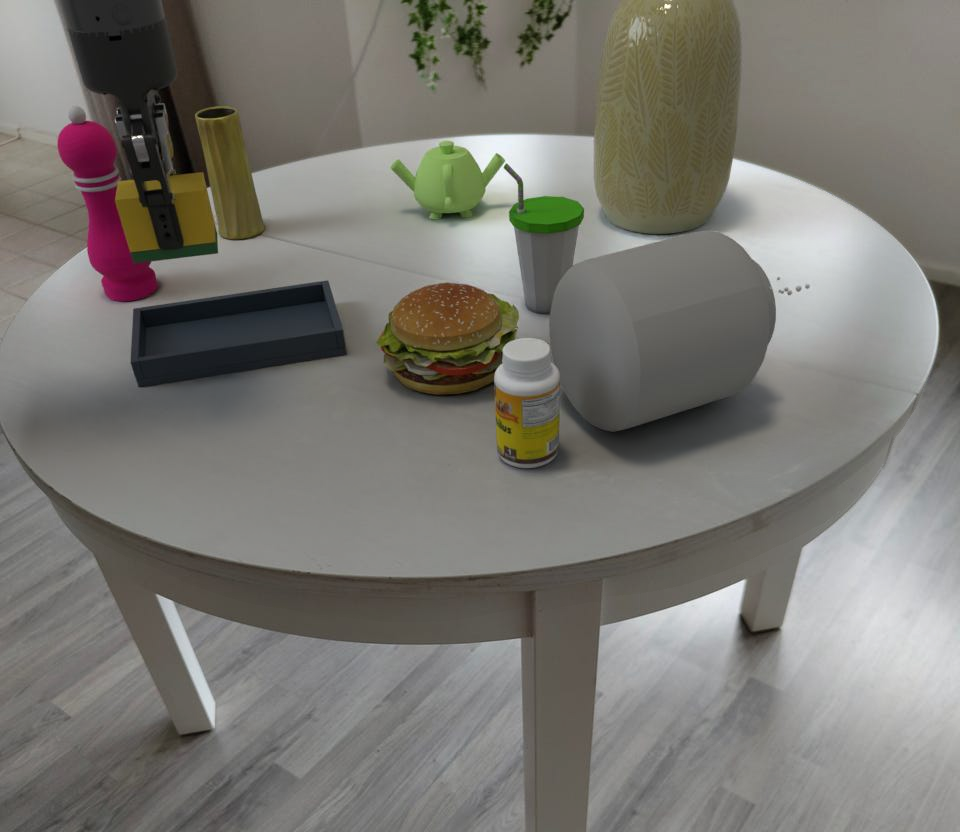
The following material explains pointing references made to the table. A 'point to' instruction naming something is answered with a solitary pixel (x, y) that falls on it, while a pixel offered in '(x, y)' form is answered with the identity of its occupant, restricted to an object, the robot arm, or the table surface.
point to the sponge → (189, 210)
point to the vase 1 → (229, 173)
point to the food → (447, 338)
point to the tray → (235, 333)
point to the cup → (544, 242)
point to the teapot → (448, 179)
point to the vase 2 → (667, 112)
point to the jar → (660, 328)
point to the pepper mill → (103, 207)
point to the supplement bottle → (527, 404)
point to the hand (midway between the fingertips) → (172, 235)
